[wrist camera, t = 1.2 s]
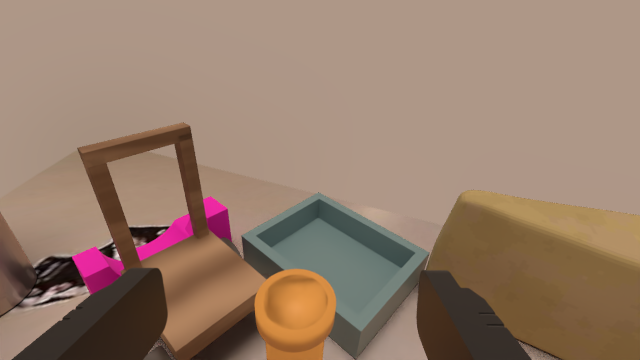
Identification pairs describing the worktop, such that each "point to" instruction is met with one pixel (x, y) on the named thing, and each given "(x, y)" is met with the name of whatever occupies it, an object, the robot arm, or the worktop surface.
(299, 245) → the tray
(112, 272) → the toy block
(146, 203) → the worktop surface
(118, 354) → the robot arm
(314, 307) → the pin
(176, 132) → the trolley
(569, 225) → the cheese
